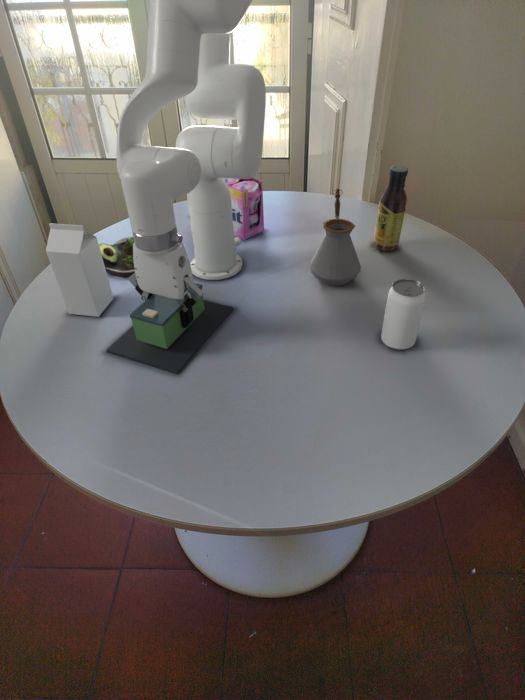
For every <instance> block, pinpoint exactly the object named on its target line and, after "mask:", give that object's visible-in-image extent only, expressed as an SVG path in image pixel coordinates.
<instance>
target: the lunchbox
mask: <svg viewBox="0 0 525 700" xmlns="http://www.w3.org/2000/svg"><path fill="white" fill-rule="evenodd" d="M194 284H195V285H196V286H197V287H198V288H200V289H201V290H202V291H203V284H201V283H196V282H194ZM188 292H189V291H188ZM189 294H190V295H191V297H193V295H192V294H191V293H190V292H189ZM183 300H184V302H185V303H186V302H187V301H186V299H185V298H184V297H183ZM204 300H205V299H204V295H203V296H202V297H201V298H200V299H199V300H198V301H197V302H196V303H195V304H194V305H193V306H192V309H193V316H194V319H193V321H194V320H195V319H196V318H197V317H198V316H199V315H200V314H201V313H202V312H203V311H204V310H205V307H204ZM180 310H181V307H180V306H179V304H178V303H177V301H176V299H173V298H168V297H164V296H160V295H156V294H153V295H152V296H150V297H149V298H148V299H147V300H146V301H143V302H142V303H141V304H140V305H139V306H138V307H137V308H135V310H133V311H132V312H131V313H129V317H130V319H131V323H132V326H133V327H134V331H135V335H136V339H137V340H138V341H142V342H145V343H148V344H152V345H155V346H158V347H162V348H165V349H168V348H169V347H170V345H171V344H172V343H173V342H174V341H175V340H176V339H177V338H178V337H179V336H180V335H181V334H182V333H183V332H184V331H185V330H186V329H187V328H188V327H189V325H190V324H191V323H192V322H193V321H192V322H191V323H190V324H189V325H188V326H187V327H186V328H183V327H182V323H181V317H180Z"/></svg>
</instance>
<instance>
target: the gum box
mask: <svg viewBox="0 0 525 700" xmlns="http://www.w3.org/2000/svg"><path fill="white" fill-rule="evenodd" d="M223 180H224V181H225V183H226V184H227V186H228V188H229V191H230V194H231V202H232V217H233V231H234V237H239V238H240V239H241V240H243V241H245V240H247V239H250V238H252V237H254V236H256V235H258V234H260V233H262V232H264V231H265V221H264V220H265V218H264V216H265V215H264V214H265V213H264V192H263V189H264V188H263V181H262V180H259V179H257V178H255V177H253V178H251V179H233V178H223Z"/></svg>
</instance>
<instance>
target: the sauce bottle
mask: <svg viewBox="0 0 525 700" xmlns="http://www.w3.org/2000/svg"><path fill="white" fill-rule="evenodd" d="M408 174H409V168H408V167H407V166H405V165H400V164H395V165H392V166H390V168H389V171H388V175H389V176H388V182H387V186H386V188H385V190H384V192H383V193H382V196H381V197H380V199H379V203H378V209H377V215H376V221H375V228H374V235H373V246H374V248H376V249H378V250H379V251H381V252H391V251H395V250H396V249H397V248H398V245H399V243H400V238H401V234H402V228H403V223H404V218H405V213H406V205H407V202H408V201H407V200H408V197H407V193H406V191H405V186H406V185H405V184H406V180H407V176H408Z"/></svg>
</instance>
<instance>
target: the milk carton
mask: <svg viewBox="0 0 525 700" xmlns="http://www.w3.org/2000/svg"><path fill="white" fill-rule="evenodd" d="M48 226H49V228H50V229H49V233H48V238H47V243H46V247H45V252H46V256H47V258H48V260H49V263H50V266H51V269H52V272H53V274H54V277H55V280H56V282H57V286H58V288H59V292H60V293H61V296H62V299H63V302H64V305H65V307H66V310H67V314H69V315H77V316H88V317H95V318H98V317H100V316H101V315H102V314H103V312H104V311H105V310H106V309H107V308H108V306H109V305H110V304H111V302H112V301H113V300H114V294H113V289H112V288H111V287H112V286H111V284H110V280H109V276H108V273H107V272H106V269H105V266H104V262H103V258H102V255H101V251H100V248H99V244H100V243H99V240H98V237H97V236H96V235H94V234H92V233H90V232H88V231H86V230H85V229H84V226H83V224H82V225H81V224H67V223H52V222H50V223H48Z"/></svg>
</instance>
